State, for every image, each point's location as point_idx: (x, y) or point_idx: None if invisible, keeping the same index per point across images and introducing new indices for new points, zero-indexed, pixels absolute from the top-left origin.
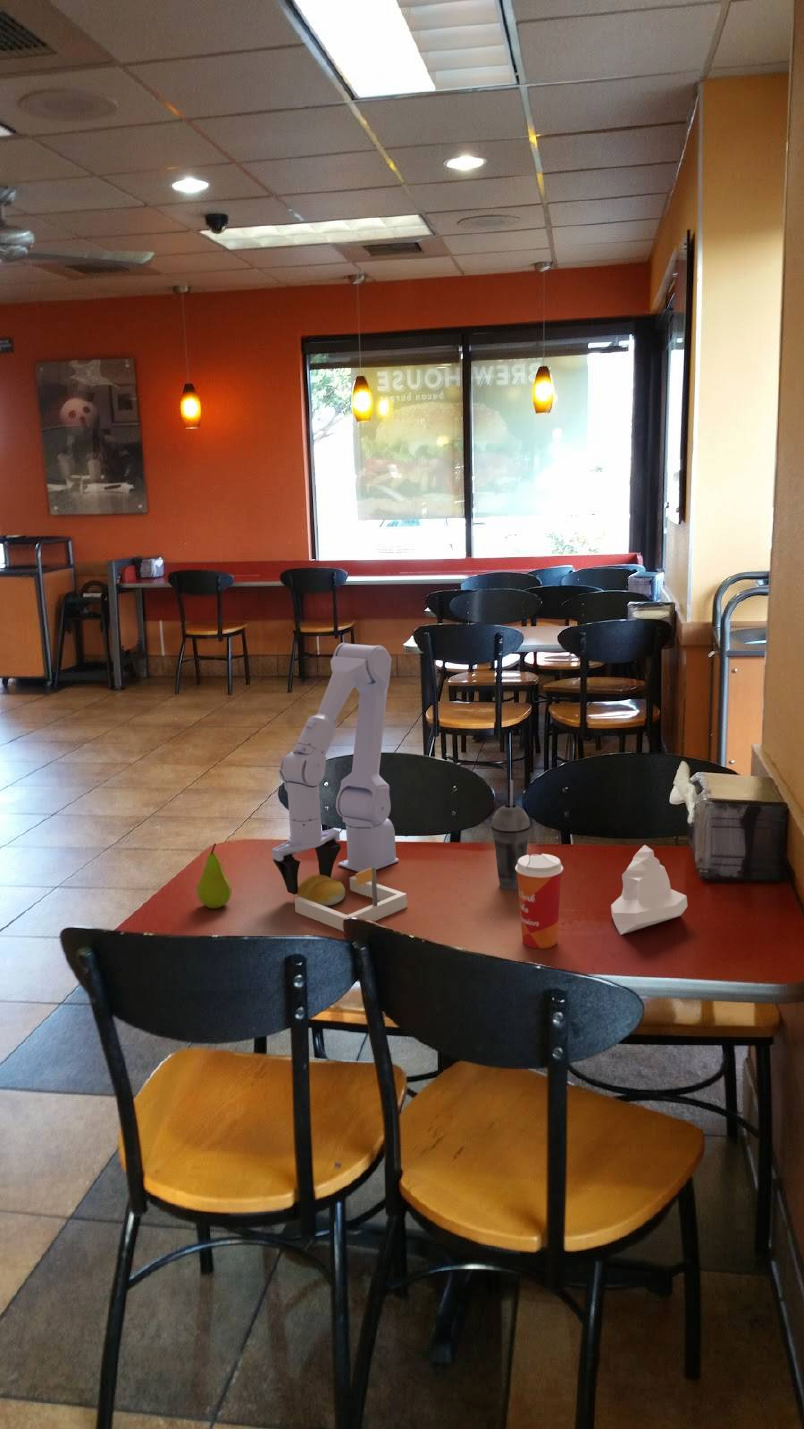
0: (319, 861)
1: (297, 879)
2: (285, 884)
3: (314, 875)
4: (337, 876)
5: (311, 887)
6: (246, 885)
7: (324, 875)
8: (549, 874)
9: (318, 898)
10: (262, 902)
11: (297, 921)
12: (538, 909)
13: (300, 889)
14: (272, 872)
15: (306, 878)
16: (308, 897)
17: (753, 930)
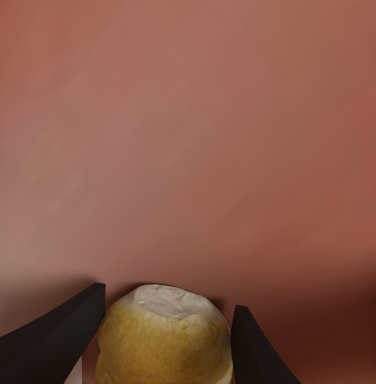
0: (254, 370)
1: (67, 375)
2: (75, 295)
3: (159, 378)
4: (333, 277)
5: (114, 379)
6: (96, 66)
7: (205, 377)
8: None
9: None
10: (46, 222)
11: None
12: None
13: (98, 341)
14: (247, 42)
15: (132, 355)
16: (97, 365)
17: None
